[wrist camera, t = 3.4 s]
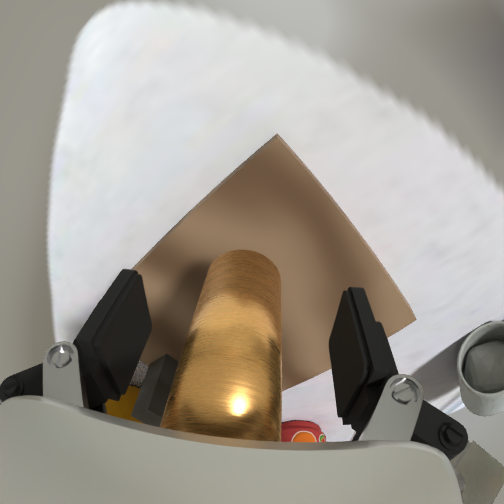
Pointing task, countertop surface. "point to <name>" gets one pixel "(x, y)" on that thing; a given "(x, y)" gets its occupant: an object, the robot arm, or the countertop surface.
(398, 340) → the countertop surface
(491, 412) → the ceramic mug
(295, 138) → the countertop surface
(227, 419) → the lever
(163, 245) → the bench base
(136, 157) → the countertop surface
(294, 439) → the smoothie
